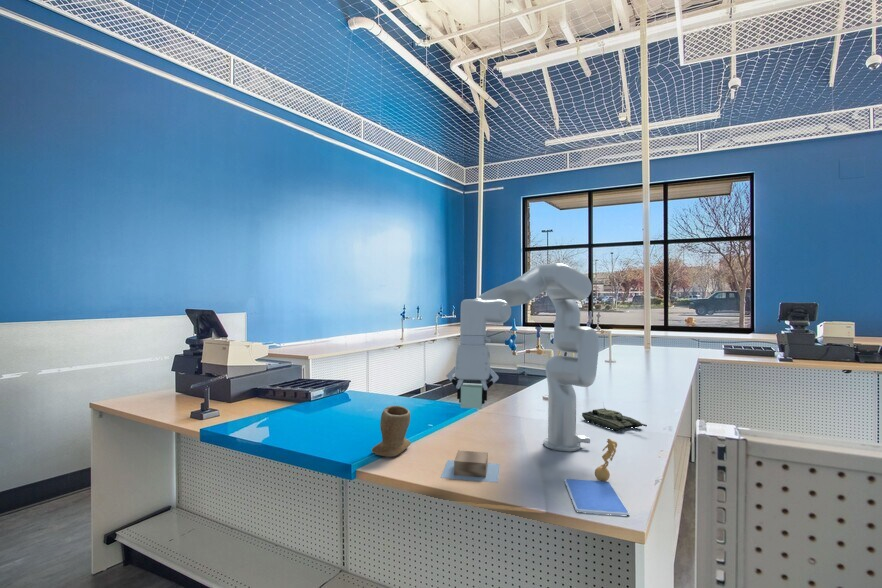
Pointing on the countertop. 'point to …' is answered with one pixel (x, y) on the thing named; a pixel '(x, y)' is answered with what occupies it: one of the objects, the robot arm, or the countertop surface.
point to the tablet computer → (595, 497)
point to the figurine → (602, 471)
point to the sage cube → (471, 395)
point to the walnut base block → (471, 464)
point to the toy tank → (611, 419)
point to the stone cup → (393, 431)
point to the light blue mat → (490, 476)
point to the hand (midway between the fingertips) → (472, 401)
